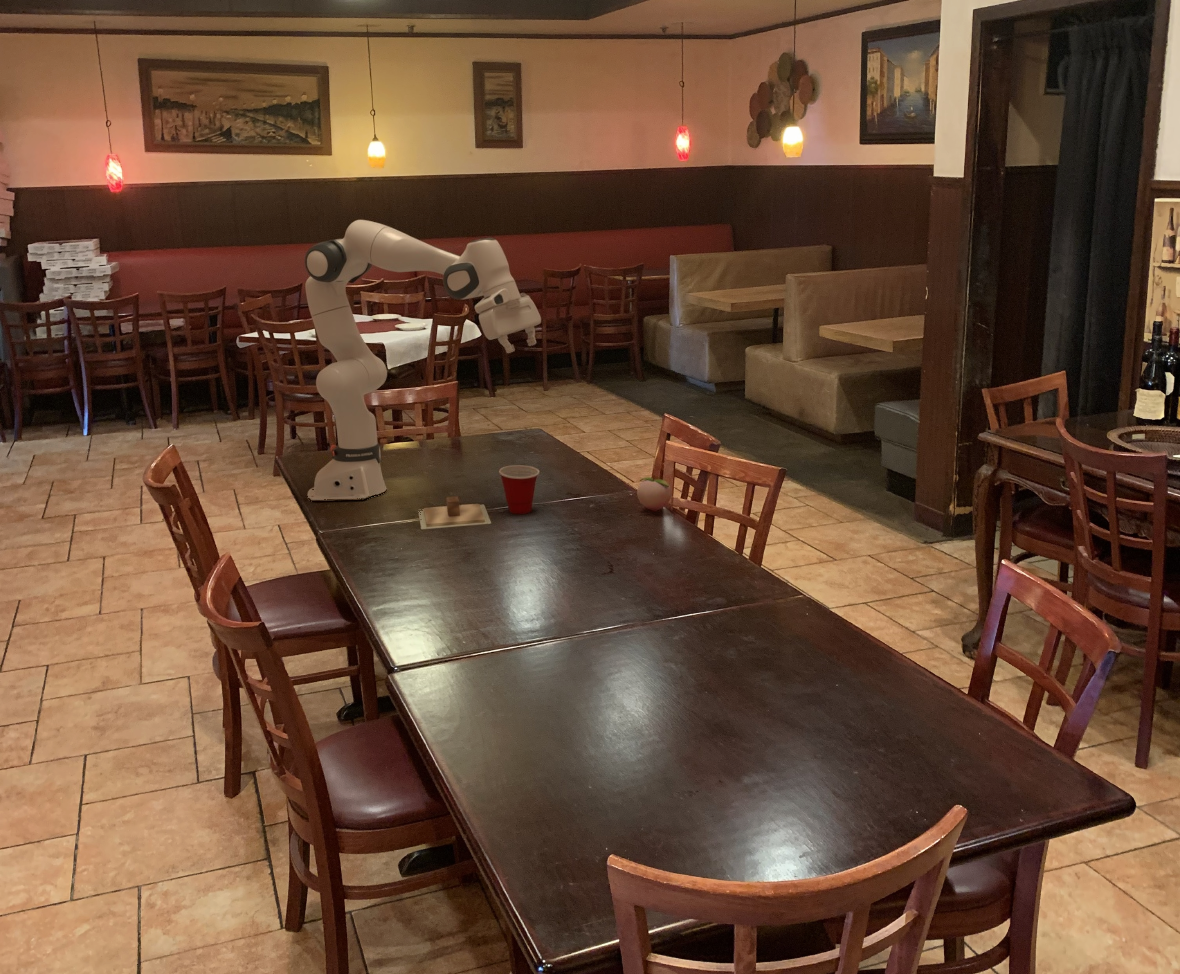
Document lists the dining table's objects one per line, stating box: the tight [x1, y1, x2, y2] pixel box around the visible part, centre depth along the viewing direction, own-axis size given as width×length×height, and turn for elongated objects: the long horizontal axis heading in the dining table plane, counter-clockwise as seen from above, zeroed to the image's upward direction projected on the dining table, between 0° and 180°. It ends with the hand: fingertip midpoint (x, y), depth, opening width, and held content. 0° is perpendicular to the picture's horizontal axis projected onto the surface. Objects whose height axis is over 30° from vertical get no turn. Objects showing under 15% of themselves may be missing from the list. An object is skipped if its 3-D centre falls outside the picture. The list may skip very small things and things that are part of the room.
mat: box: [418, 504, 492, 530], centre depth 294 cm, size 18×18×1 cm
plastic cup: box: [498, 464, 540, 515], centre depth 296 cm, size 11×11×12 cm
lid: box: [423, 495, 485, 527], centre depth 293 cm, size 15×15×5 cm
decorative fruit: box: [636, 474, 673, 512], centre depth 294 cm, size 9×8×10 cm
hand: (522, 348), depth 288 cm, fingers open, 8 cm apart
